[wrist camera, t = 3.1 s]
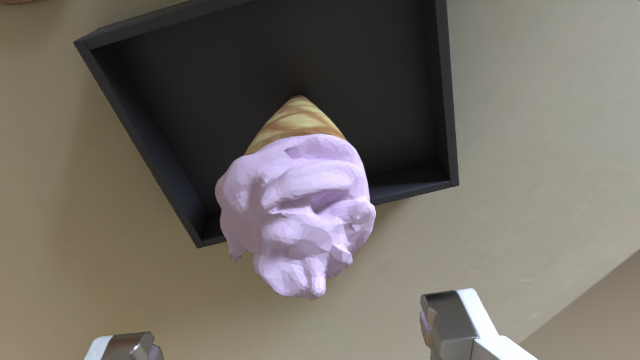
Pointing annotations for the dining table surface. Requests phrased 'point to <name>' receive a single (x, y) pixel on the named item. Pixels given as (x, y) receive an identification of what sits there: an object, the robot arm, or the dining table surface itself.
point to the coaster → (14, 1)
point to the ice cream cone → (296, 201)
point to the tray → (280, 90)
